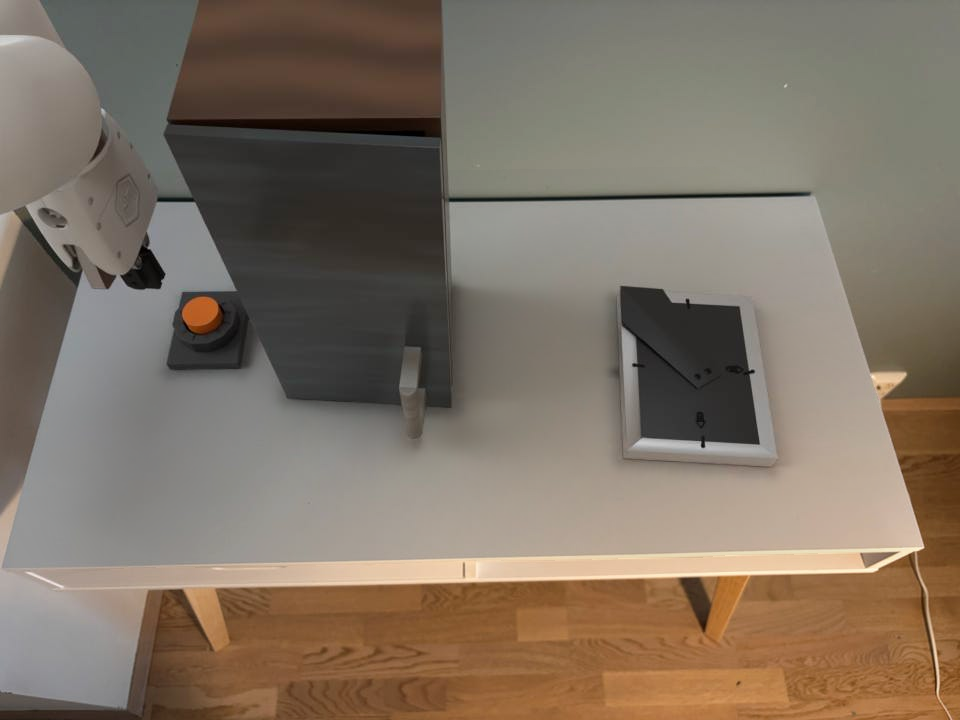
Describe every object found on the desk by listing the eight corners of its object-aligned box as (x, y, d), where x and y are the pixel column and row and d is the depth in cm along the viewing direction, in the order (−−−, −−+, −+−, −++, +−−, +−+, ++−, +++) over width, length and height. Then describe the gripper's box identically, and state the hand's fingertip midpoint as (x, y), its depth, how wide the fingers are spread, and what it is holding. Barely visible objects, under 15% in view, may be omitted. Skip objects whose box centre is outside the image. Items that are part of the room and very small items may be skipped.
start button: (220, 334, 83) (215, 325, 81) (184, 334, 83) (179, 326, 81) (225, 304, 85) (221, 296, 83) (190, 305, 85) (185, 296, 83)
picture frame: (616, 299, 89) (623, 458, 78) (620, 285, 86) (628, 447, 76) (746, 306, 89) (771, 467, 78) (754, 292, 86) (780, 456, 76)
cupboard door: (448, 451, 78) (432, 209, 45) (277, 441, 79) (139, 194, 46) (452, 399, 82) (441, 137, 49) (288, 390, 82) (166, 123, 49)
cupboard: (452, 386, 83) (441, 117, 49) (288, 388, 82) (165, 119, 49) (451, 285, 90) (441, -10, 56) (300, 287, 89) (201, -9, 56)
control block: (240, 368, 83) (233, 355, 81) (169, 369, 83) (160, 356, 81) (252, 296, 88) (245, 281, 86) (185, 297, 88) (176, 282, 86)
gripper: (65, 214, 49) (165, 353, 65) (132, 64, 56) (206, 221, 72) (-46, 208, 49) (81, 348, 65) (35, 59, 56) (131, 217, 72)
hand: (147, 281), depth 68 cm, fingers closed
